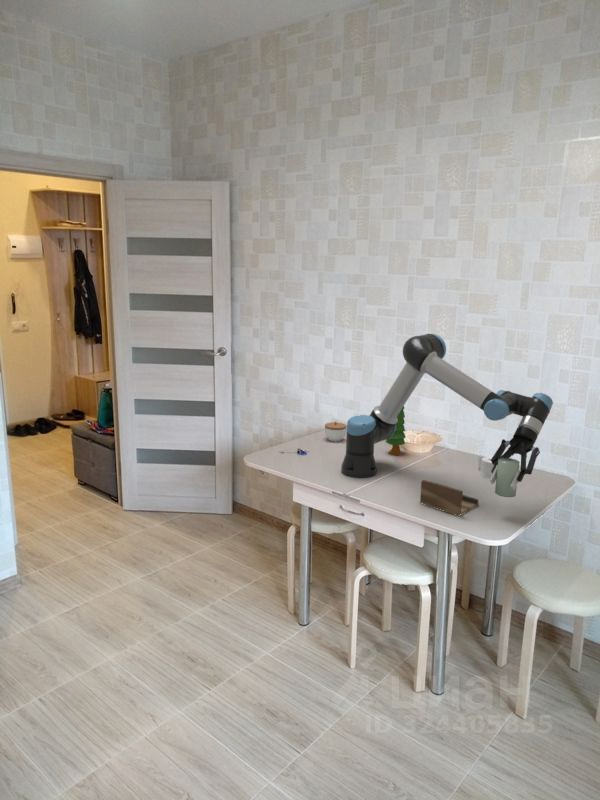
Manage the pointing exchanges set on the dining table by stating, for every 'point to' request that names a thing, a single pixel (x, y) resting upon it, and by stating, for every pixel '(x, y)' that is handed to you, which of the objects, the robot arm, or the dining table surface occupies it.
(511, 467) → the canister
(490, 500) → the dining table surface
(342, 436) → the lidded jar
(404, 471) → the dining table surface
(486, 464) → the toilet paper
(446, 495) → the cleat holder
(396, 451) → the decorative tree
